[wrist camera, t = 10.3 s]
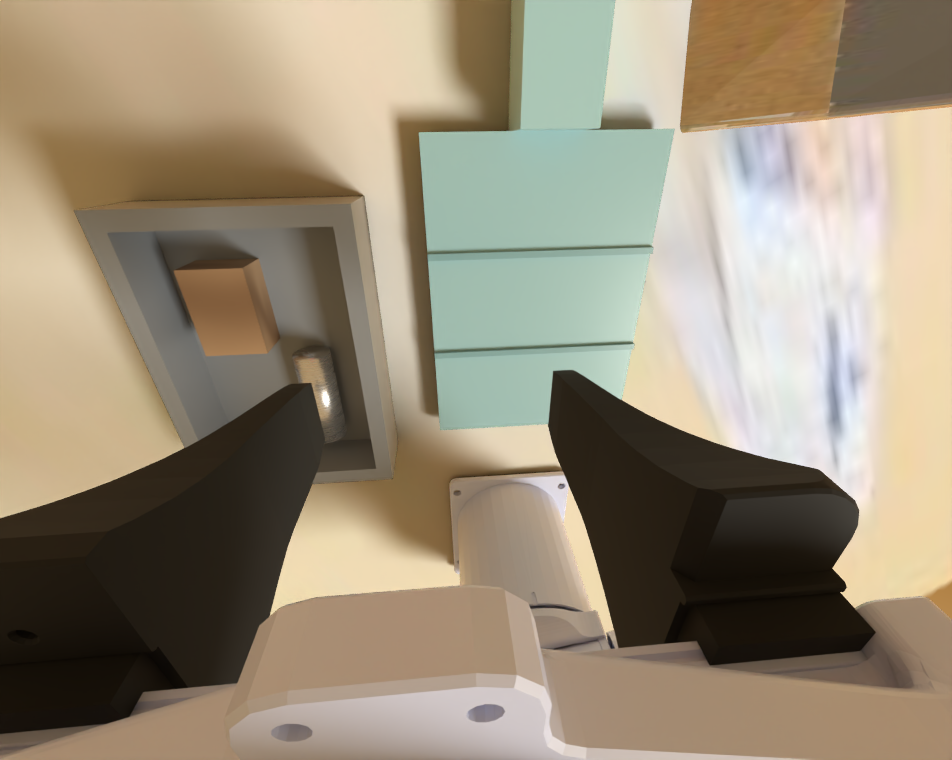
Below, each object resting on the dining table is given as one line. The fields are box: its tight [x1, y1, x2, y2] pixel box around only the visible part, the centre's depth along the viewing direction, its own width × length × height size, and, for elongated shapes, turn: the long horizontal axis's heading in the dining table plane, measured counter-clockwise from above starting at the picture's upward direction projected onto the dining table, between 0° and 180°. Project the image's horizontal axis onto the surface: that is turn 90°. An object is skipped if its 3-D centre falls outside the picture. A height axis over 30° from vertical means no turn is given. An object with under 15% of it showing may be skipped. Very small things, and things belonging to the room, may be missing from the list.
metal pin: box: [292, 346, 347, 444], centre depth 22 cm, size 5×2×2 cm, turn 1°
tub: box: [74, 196, 398, 484], centre depth 20 cm, size 14×10×3 cm
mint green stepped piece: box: [419, 0, 675, 430], centre depth 19 cm, size 20×11×3 cm, turn 1°
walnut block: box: [173, 258, 280, 356], centre depth 19 cm, size 4×3×2 cm
